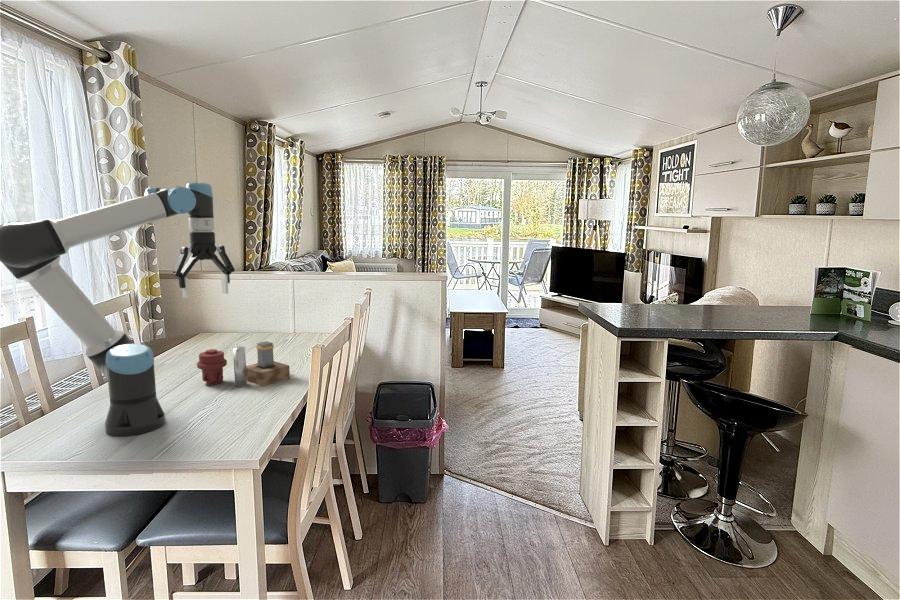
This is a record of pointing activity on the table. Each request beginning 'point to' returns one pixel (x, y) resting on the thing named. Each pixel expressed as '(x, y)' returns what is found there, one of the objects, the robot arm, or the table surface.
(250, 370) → the socket block
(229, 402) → the table surface
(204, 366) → the mechanical component
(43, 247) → the robot arm
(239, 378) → the silver metal bar
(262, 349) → the square bit
